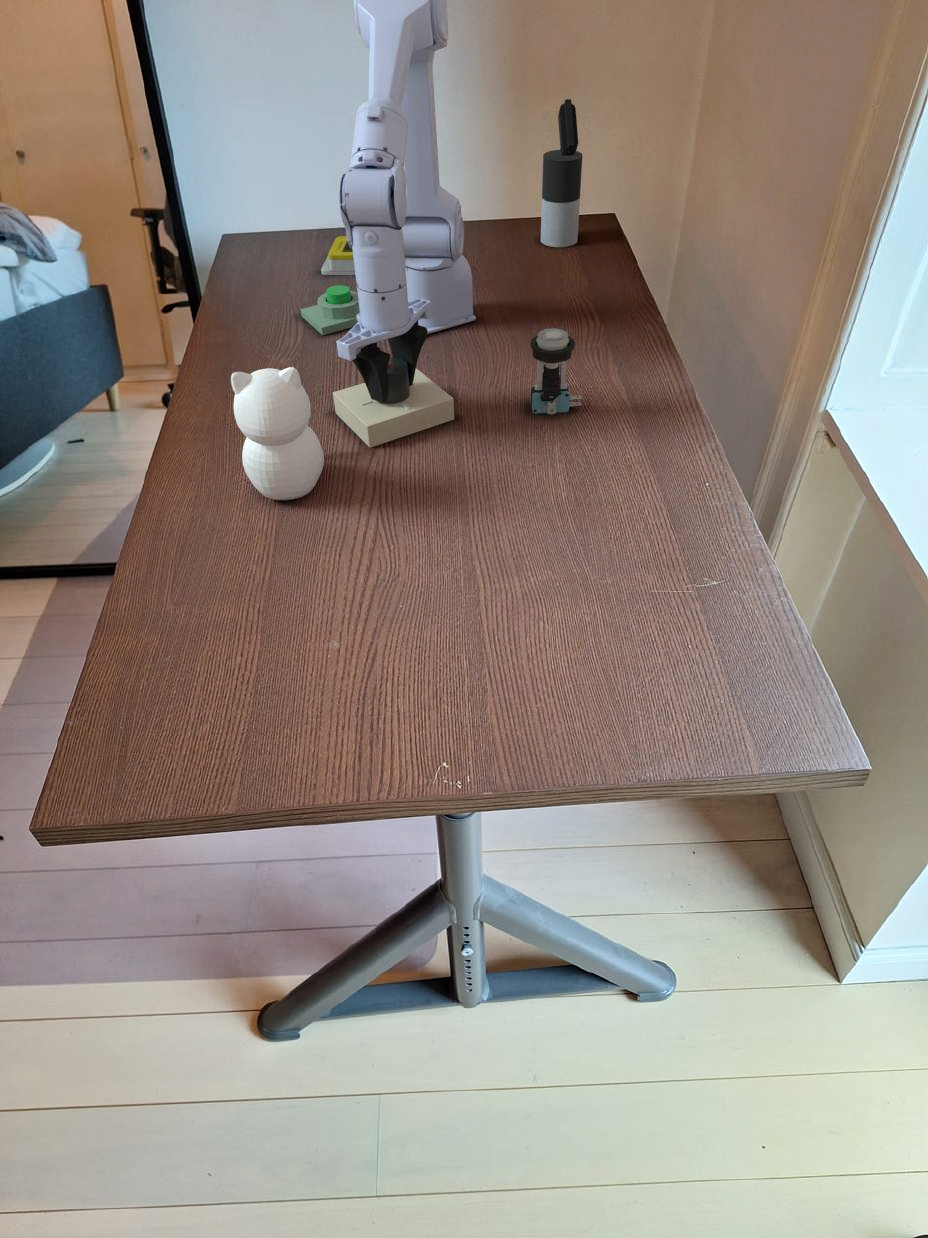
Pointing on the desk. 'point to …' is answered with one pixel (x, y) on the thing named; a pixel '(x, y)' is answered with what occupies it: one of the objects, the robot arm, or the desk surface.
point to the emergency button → (339, 259)
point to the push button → (552, 372)
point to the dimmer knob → (397, 380)
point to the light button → (338, 294)
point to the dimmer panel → (394, 411)
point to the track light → (562, 184)
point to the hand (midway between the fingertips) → (392, 391)
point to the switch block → (332, 314)
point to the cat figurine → (277, 433)
